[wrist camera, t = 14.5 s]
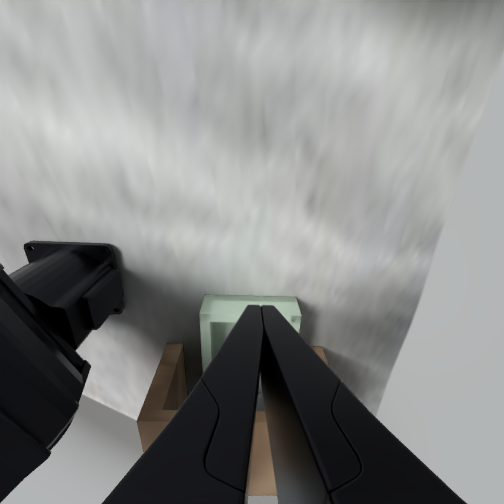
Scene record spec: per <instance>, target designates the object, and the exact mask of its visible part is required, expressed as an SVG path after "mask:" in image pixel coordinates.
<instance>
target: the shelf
mask: <svg viewBox="0 0 504 504" xmlns="http://www.w3.org/2000/svg"><path fill="white" fill-rule="evenodd" d="M311 347H312V349H313V350H314V351H315V352H316V353H317V354H318V355H319V356H320V358H321V359H322V360H323V361H324V362H325V363H326V364H327V365H328V362H327V359H326V357H325V354H324V351H323V348H322V347H321V346H311ZM328 366H329V365H328ZM186 398H187V387H186V375H185V363H184V351H183V344H181V343H167V345H166V347H165V350H164V352H163V355H162V357H161V360H160V363H159V365H158V368H157V370H156V373H155V375H154V378H153V381H152V383H151V386H150V388H149V391H148V393H147V396H146V399H145V401H144V404H143V406H142V409H141V411H140V414H139V417H138V419H137V425H138V429H139V434H140V439H141V443H142V448H143V452H145V451H146V450H147V449H148V447H149V446H150V445H151V444H152V443H153V441H154V440H155V439H156V438H157V436H158V435H159V434H160V433H161V432H162V430H163V429H164V428H165V426H166V425H167V424H168V423H169V421H170V420H171V419H172V418H173V416H174V415H175V414H176V412H177V411H178V410H179V408H180V407H181V406H182V404H183V403H184V401H185V400H186ZM253 495H255V496H259V495H260V496H264V495H265V496H271V495H272V496H275V495H276V496H277V490H276V483H275V476H274V469H273V463H272V456H271V449H270V442H269V435H268V428H267V421H266V414H265V411H257V413H256V423H255V433H254V443H253V453H252V463H251V473H250V484H249V494H248V496H253Z"/></svg>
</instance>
